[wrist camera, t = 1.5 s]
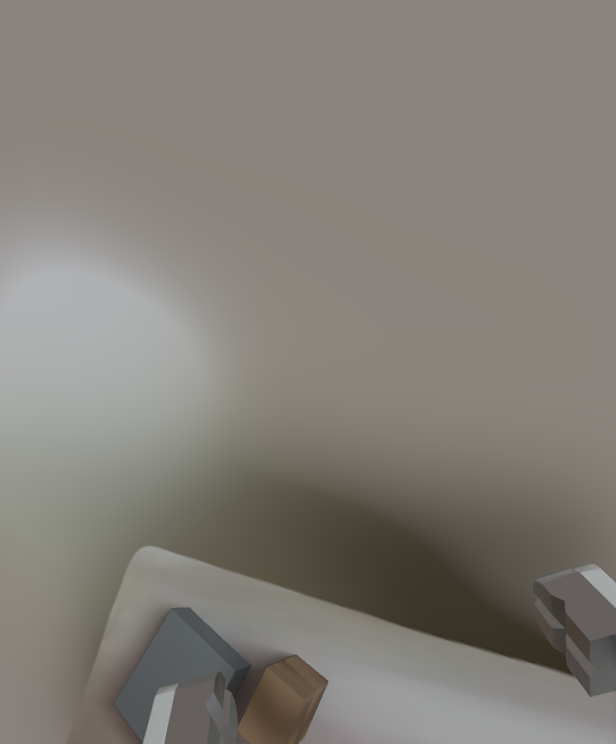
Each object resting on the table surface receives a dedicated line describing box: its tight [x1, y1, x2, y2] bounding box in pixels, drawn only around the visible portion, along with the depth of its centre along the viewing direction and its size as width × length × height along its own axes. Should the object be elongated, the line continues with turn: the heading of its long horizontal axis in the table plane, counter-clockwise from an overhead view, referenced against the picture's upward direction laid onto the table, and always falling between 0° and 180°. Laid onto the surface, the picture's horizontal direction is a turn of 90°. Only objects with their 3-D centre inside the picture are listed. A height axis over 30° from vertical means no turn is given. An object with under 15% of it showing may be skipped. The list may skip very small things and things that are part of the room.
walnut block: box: [237, 655, 329, 744], centre depth 35 cm, size 5×4×8 cm
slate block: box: [114, 608, 251, 743], centre depth 40 cm, size 10×10×4 cm
